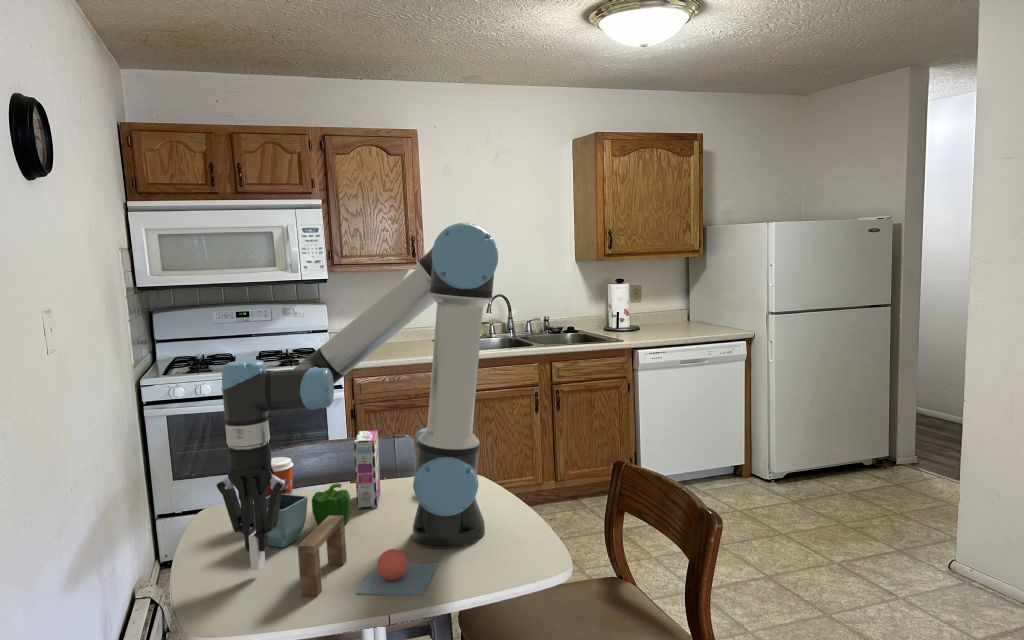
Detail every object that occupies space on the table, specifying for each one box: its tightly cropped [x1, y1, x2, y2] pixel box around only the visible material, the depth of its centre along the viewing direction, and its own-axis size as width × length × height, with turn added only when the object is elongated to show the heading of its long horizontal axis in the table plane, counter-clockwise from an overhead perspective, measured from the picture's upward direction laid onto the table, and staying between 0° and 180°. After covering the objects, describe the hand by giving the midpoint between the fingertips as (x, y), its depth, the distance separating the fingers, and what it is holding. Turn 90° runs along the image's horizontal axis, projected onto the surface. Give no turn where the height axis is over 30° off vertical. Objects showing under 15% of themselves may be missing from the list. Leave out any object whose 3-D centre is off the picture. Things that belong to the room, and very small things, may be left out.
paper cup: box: [266, 456, 294, 497], centre depth 161 cm, size 8×8×14 cm
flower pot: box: [253, 494, 309, 548], centre depth 149 cm, size 9×9×9 cm
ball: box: [376, 548, 408, 581], centre depth 130 cm, size 6×6×6 cm
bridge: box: [297, 516, 347, 598], centre depth 131 cm, size 3×14×9 cm, turn 173°
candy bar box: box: [353, 429, 381, 510], centre depth 172 cm, size 11×5×16 cm, turn 6°
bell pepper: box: [311, 482, 352, 527], centre depth 156 cm, size 8×8×10 cm
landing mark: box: [355, 563, 438, 596], centre depth 130 cm, size 12×12×1 cm
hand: (258, 566), depth 133 cm, fingers closed
